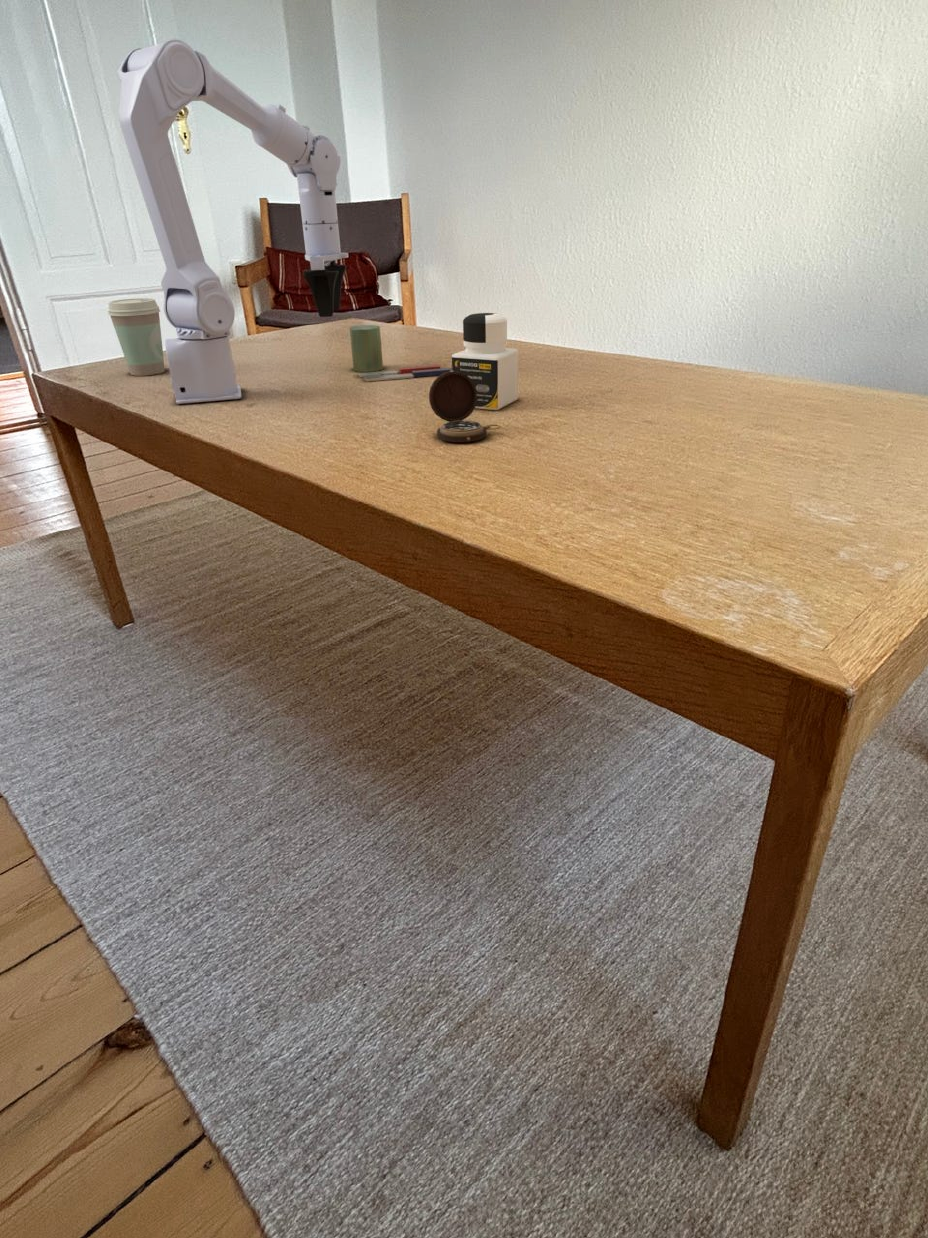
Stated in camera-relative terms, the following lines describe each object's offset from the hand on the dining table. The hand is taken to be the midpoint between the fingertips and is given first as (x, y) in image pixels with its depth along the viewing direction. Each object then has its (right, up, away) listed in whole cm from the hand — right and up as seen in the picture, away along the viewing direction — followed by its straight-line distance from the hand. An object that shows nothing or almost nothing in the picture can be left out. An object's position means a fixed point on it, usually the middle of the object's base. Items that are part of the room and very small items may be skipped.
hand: (329, 313), depth 128 cm
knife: (+14, -12, -3) cm, 18 cm away
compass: (+23, -29, -34) cm, 51 cm away
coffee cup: (-34, -8, +7) cm, 36 cm away
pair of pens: (+12, -10, 0) cm, 16 cm away
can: (+6, -8, +4) cm, 11 cm away
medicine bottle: (+26, -21, -20) cm, 39 cm away
